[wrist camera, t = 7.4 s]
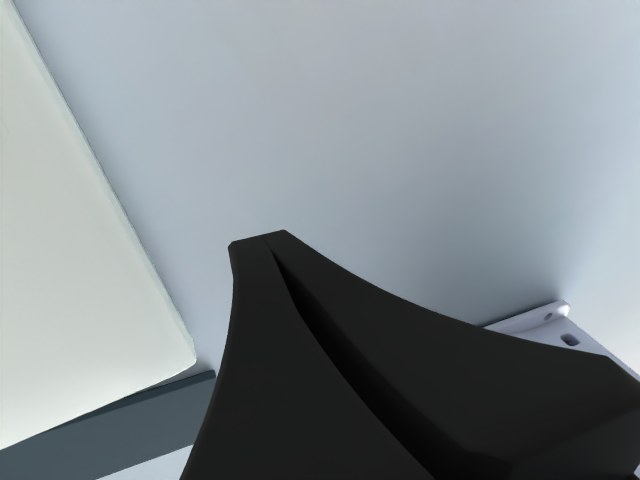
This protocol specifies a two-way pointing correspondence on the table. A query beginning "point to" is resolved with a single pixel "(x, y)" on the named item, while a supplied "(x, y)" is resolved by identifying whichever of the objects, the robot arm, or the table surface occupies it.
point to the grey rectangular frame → (114, 434)
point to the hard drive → (68, 263)
